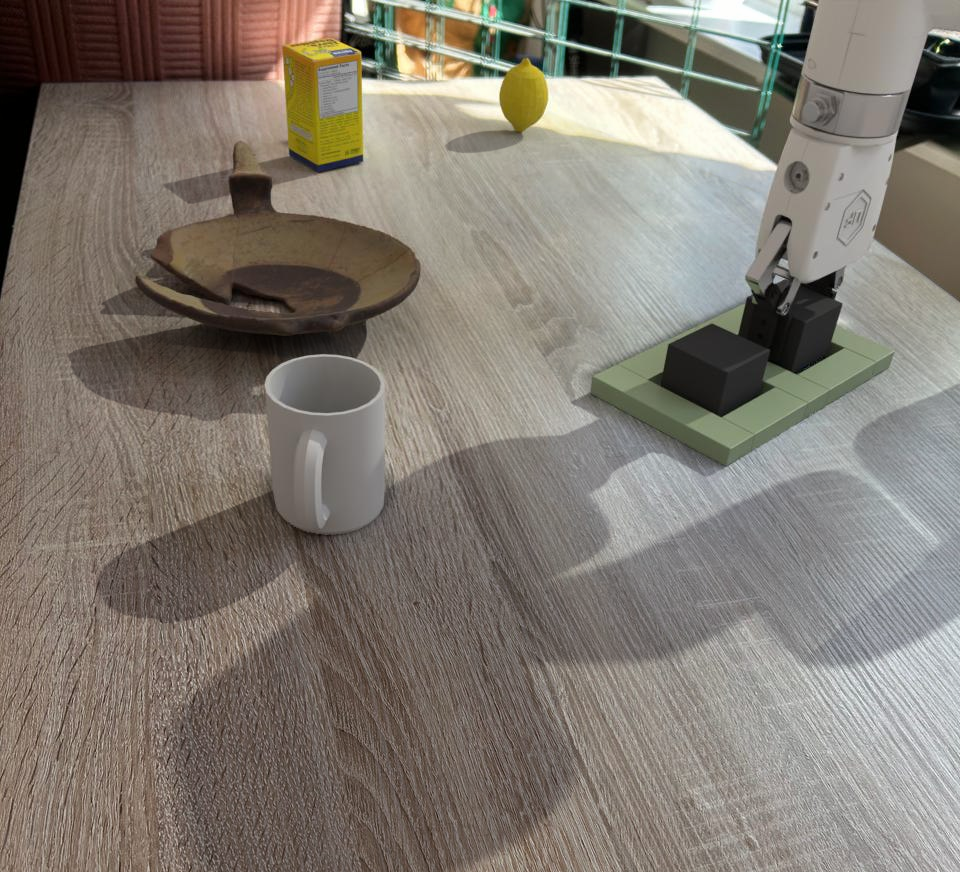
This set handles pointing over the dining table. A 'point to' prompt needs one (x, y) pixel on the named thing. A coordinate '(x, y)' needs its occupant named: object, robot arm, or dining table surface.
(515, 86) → the fruit
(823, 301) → the black square block
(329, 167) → the supplement box
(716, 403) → the black block
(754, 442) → the base board
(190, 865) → the dining table surface
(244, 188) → the broken clay pan
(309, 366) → the cup
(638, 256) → the dining table surface
